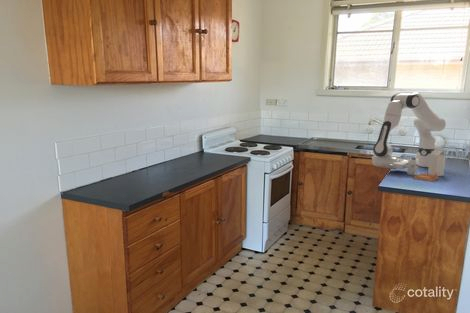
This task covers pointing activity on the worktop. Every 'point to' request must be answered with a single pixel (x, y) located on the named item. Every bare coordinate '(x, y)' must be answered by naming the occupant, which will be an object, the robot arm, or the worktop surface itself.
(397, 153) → the worktop surface
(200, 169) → the worktop surface
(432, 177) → the coupler
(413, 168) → the lock
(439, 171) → the milk carton
